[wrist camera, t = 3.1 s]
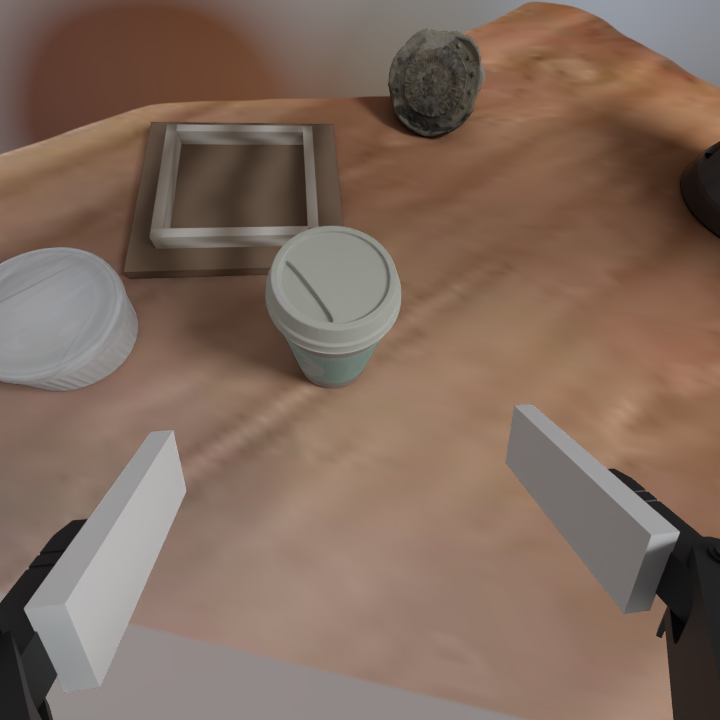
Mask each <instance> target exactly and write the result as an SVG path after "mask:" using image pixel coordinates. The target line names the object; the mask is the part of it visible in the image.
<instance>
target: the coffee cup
mask: <svg viewBox="0 0 720 720" xmlns="http://www.w3.org/2000/svg"><path fill="white" fill-rule="evenodd" d="M265 301H266V307H267V310H268V313H269V316H270V318H271V320H272V322H273V323H274V325H275V326H276V327H277V329H278V330H279V331H280V332H281V333H282V334H283V335H284V336H285V338H286V340H287V342H288V344H289V346H290V348H291V350H292V352H293V354H294V356H295V358H296V360H297V362H298V364H299V366H300V368H301V370H302V372H303V373H304V375H305V376H306V377H307V378H308V379H309V380H310V381H311V382H312V383H314V384H316V385H318V386H320V387H324V388H341V387H344V386H347V385H349V384H351V383H352V382H354V381H355V380H356V379H357V378H358V377H359V376H360V374H361V373H362V371H363V369H364V368H365V366H366V364H367V362H368V360H369V359H370V357H371V355H372V353H373V351H374V350H375V348H376V346H377V344H378V342H379V341H380V339H381V338H382V337H383V336H384V335H385V334H386V333H387V332H388V331H389V330H390V329H391V327H392V326H393V324H394V323H395V321H396V319H397V317H398V314H399V311H400V306H401V284H400V280H399V276H398V274H397V271H396V268H395V265H394V262H393V260H392V258H391V256H390V255H389V253H388V252H387V250H386V249H385V248H384V247H383V246H382V245H381V244H380V243H379V242H378V241H376V240H375V239H374V238H372V237H371V236H369V235H367V234H365V233H363V232H361V231H358V230H355V229H352V228H348V227H342V226H322V227H316V228H312V229H309V230H306V231H303V232H301V233H299V234H297V235H296V236H294V237H292V238H291V239H290V240H289V241H287V242H286V243H285V244H284V245H283V246H282V247H281V249H280V250H279V251H278V253H277V254H276V256H275V258H274V260H273V263H272V266H271V268H270V270H269V273H268V276H267V279H266V288H265Z"/></svg>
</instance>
